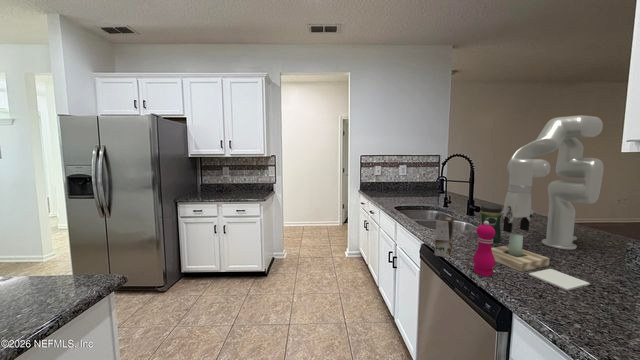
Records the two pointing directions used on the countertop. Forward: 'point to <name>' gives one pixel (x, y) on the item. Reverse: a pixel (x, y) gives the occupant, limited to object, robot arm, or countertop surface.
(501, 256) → the wooden square frame
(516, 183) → the robot arm
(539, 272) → the mat
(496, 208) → the coffee jar
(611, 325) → the countertop surface
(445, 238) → the coffee box
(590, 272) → the countertop surface
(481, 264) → the pepper mill
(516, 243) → the peg
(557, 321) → the countertop surface
